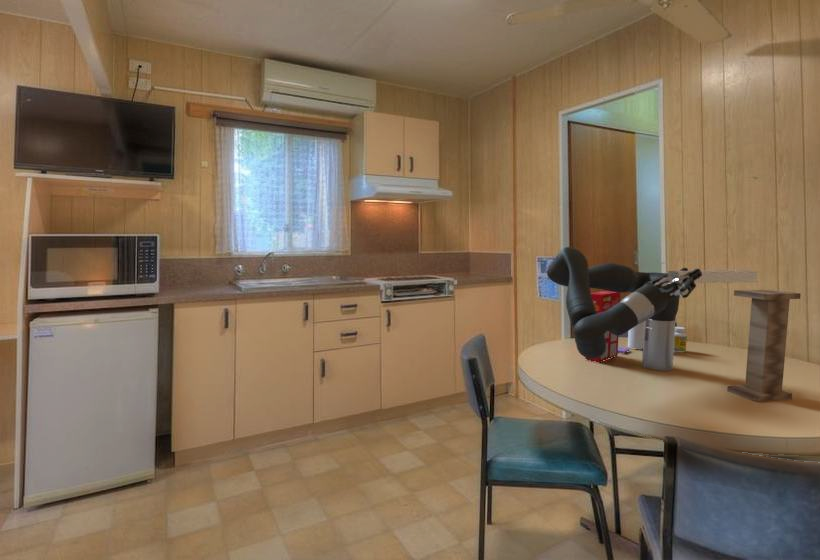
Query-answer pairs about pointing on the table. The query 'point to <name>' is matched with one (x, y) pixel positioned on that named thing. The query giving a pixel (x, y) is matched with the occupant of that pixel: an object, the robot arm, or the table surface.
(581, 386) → the table surface
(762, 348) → the walnut stand
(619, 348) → the sponges
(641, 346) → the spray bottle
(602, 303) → the food packaging
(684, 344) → the supplement bottle
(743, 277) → the beige long bar
